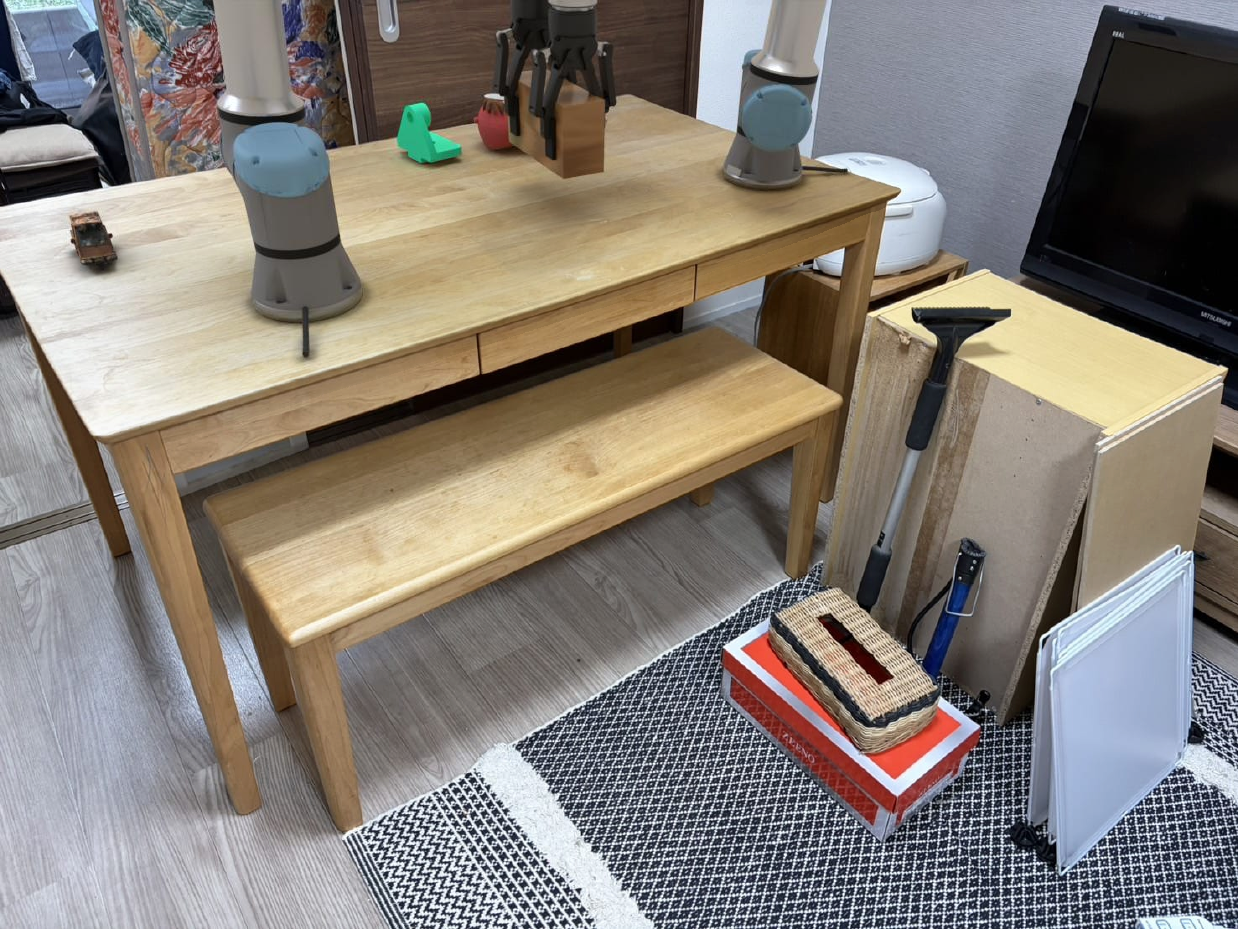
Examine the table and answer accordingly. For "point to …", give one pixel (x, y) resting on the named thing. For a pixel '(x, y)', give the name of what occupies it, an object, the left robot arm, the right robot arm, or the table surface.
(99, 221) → the toy car
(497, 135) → the toy
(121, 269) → the table surface
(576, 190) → the table surface
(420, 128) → the camera mount
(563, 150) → the box
